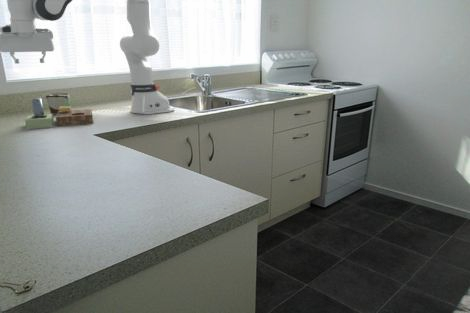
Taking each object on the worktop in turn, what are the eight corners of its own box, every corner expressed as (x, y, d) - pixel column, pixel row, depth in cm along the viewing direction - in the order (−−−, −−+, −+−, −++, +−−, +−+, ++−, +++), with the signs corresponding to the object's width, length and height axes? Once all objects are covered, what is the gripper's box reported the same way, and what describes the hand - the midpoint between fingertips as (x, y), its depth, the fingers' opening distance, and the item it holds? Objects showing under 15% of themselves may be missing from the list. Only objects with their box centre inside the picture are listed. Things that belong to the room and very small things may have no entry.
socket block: (92, 117, 183) (91, 108, 182) (93, 123, 170) (92, 114, 169) (58, 119, 178) (57, 111, 177) (57, 126, 165) (55, 117, 164)
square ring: (53, 122, 172) (52, 113, 171) (52, 127, 163) (50, 118, 162) (29, 124, 169) (27, 115, 167) (26, 129, 160) (24, 120, 159)
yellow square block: (72, 116, 179) (70, 105, 177) (72, 118, 175) (70, 107, 173) (60, 117, 177) (59, 106, 176) (60, 119, 173) (58, 108, 171)
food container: (76, 111, 196) (74, 92, 193) (70, 114, 190) (68, 94, 187) (54, 111, 197) (51, 92, 194) (48, 113, 191) (44, 94, 188)
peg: (46, 124, 168) (41, 97, 165) (45, 126, 165) (41, 99, 161) (36, 125, 167) (31, 98, 163) (35, 127, 163) (30, 99, 160)
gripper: (52, 28, 160) (57, 61, 164) (-3, 28, 152) (3, 63, 157) (51, 28, 154) (56, 62, 158) (-6, 28, 147) (1, 64, 151)
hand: (29, 63), depth 157 cm, fingers open, 8 cm apart
